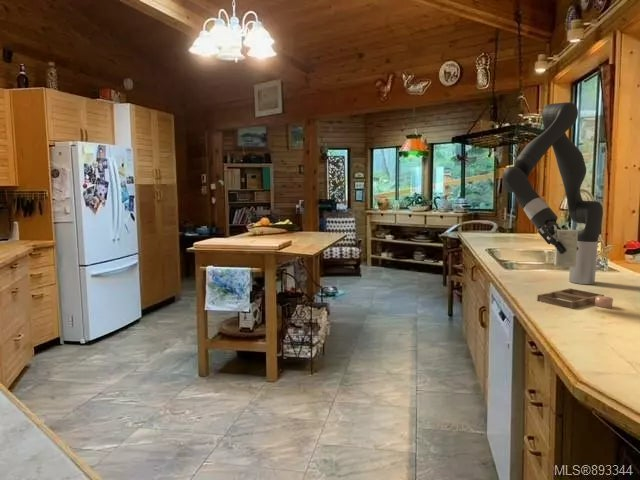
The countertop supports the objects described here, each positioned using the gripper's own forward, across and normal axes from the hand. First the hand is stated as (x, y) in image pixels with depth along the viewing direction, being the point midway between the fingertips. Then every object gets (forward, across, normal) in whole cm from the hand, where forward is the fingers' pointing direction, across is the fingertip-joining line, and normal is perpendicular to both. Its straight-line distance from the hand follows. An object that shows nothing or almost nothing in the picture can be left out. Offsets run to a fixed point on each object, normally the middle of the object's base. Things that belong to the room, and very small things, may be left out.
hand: (570, 251), depth 165 cm
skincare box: (+3, 0, +5) cm, 5 cm away
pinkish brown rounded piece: (+19, +8, +6) cm, 21 cm away
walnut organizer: (+12, +6, +14) cm, 19 cm away
